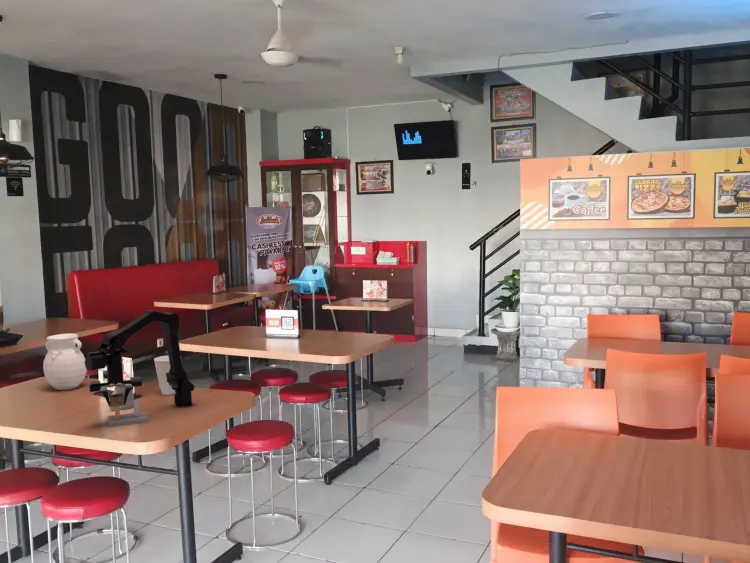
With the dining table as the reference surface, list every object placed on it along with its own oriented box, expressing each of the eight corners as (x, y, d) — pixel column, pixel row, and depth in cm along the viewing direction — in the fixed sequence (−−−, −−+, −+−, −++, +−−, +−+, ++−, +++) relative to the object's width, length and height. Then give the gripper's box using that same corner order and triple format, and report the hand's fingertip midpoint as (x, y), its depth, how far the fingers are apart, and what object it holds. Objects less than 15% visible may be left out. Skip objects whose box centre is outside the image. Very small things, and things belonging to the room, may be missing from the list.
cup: (137, 406, 275) (136, 385, 274) (117, 412, 266) (115, 391, 265) (126, 404, 278) (125, 383, 278) (106, 410, 270) (104, 389, 269)
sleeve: (123, 405, 256) (123, 393, 255) (124, 409, 251) (123, 396, 251) (110, 407, 254) (109, 395, 253) (110, 410, 249) (109, 398, 249)
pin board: (145, 415, 262) (144, 395, 261) (147, 421, 253) (146, 401, 252) (107, 420, 256) (106, 400, 255) (108, 427, 247) (107, 406, 246)
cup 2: (158, 390, 301) (157, 355, 300) (185, 388, 303) (183, 354, 301) (153, 396, 290) (151, 361, 288) (180, 395, 291) (178, 360, 289)
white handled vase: (35, 392, 302) (31, 339, 300) (61, 382, 320) (57, 332, 318) (72, 393, 299) (68, 339, 297) (95, 383, 317) (92, 332, 315)
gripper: (138, 359, 262) (141, 397, 264) (88, 364, 255) (90, 404, 256) (141, 364, 252) (143, 404, 253) (88, 370, 244) (91, 411, 246)
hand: (117, 405), depth 252 cm, fingers closed on sleeve, 5 cm apart
